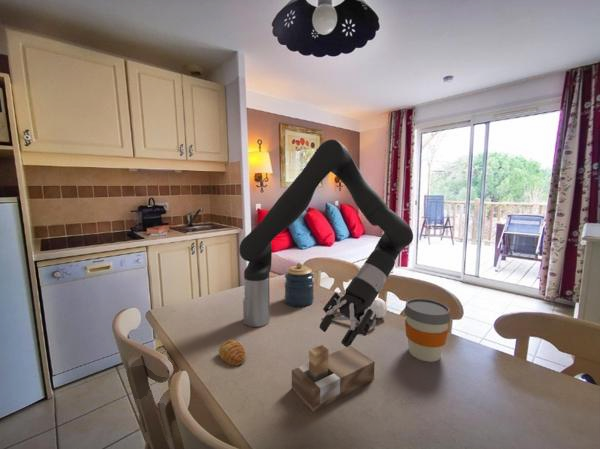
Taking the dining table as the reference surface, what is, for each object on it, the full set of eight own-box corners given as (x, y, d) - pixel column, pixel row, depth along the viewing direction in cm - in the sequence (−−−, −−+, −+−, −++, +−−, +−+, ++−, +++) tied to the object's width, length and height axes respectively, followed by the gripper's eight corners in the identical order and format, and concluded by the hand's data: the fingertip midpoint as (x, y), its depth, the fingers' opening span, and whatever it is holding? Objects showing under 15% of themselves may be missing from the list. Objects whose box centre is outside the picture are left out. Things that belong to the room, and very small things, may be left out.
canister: (283, 296, 131) (283, 259, 129) (311, 295, 132) (311, 258, 130) (285, 307, 118) (285, 267, 116) (315, 306, 119) (316, 266, 117)
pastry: (251, 361, 82) (251, 349, 81) (230, 370, 77) (230, 358, 77) (236, 347, 89) (236, 336, 88) (216, 355, 84) (215, 343, 84)
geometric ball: (375, 320, 113) (379, 301, 116) (389, 322, 106) (393, 301, 109) (360, 314, 110) (365, 294, 114) (374, 314, 103) (378, 293, 107)
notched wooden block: (312, 412, 63) (313, 391, 62) (291, 388, 70) (291, 370, 70) (373, 379, 74) (374, 361, 73) (349, 361, 81) (350, 345, 81)
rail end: (314, 393, 67) (315, 354, 66) (308, 387, 69) (309, 349, 68) (327, 387, 69) (328, 349, 68) (321, 381, 71) (322, 344, 70)
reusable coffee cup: (402, 360, 82) (405, 311, 80) (402, 338, 94) (404, 296, 92) (450, 369, 78) (454, 318, 76) (444, 346, 90) (447, 301, 88)
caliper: (375, 328, 101) (375, 312, 101) (374, 330, 100) (375, 313, 100) (321, 318, 109) (321, 303, 108) (320, 319, 108) (320, 304, 107)
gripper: (341, 270, 79) (307, 318, 74) (381, 284, 67) (344, 343, 62) (354, 284, 83) (322, 332, 78) (394, 301, 71) (360, 358, 66)
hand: (332, 337), depth 70 cm, fingers open, 8 cm apart
